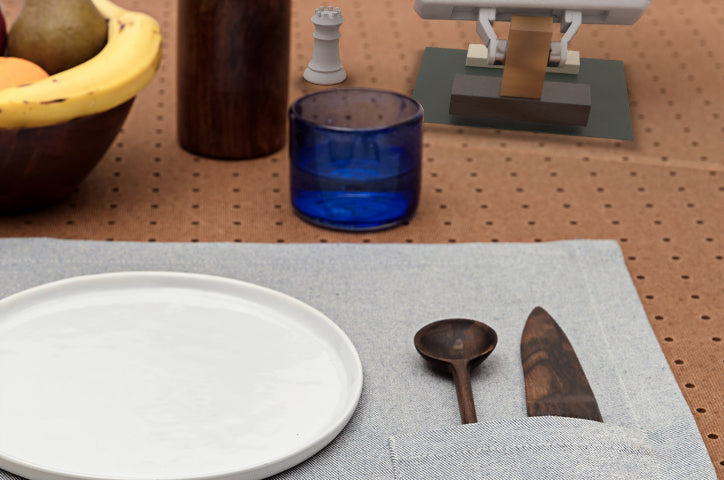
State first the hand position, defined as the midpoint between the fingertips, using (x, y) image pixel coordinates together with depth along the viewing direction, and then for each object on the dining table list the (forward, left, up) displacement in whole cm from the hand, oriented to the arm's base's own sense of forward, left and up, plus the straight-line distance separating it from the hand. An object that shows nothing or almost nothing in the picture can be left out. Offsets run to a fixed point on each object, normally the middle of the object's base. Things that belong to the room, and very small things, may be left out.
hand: (526, 64), depth 95 cm
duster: (0, -1, -5) cm, 5 cm away
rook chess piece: (+19, -7, -7) cm, 22 cm away
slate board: (0, -8, -7) cm, 11 cm away
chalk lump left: (+3, -15, -6) cm, 17 cm away
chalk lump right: (-4, -15, -6) cm, 17 cm away
